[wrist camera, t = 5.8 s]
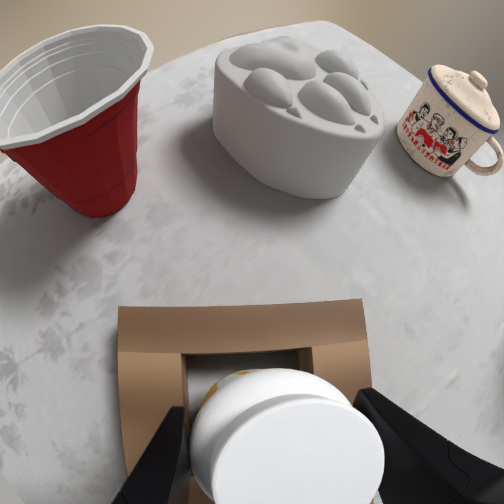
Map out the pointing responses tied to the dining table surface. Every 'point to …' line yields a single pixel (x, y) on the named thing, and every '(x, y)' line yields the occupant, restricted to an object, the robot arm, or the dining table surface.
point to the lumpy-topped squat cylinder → (295, 115)
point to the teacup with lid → (450, 123)
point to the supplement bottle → (283, 442)
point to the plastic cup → (77, 114)
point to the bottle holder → (228, 343)
